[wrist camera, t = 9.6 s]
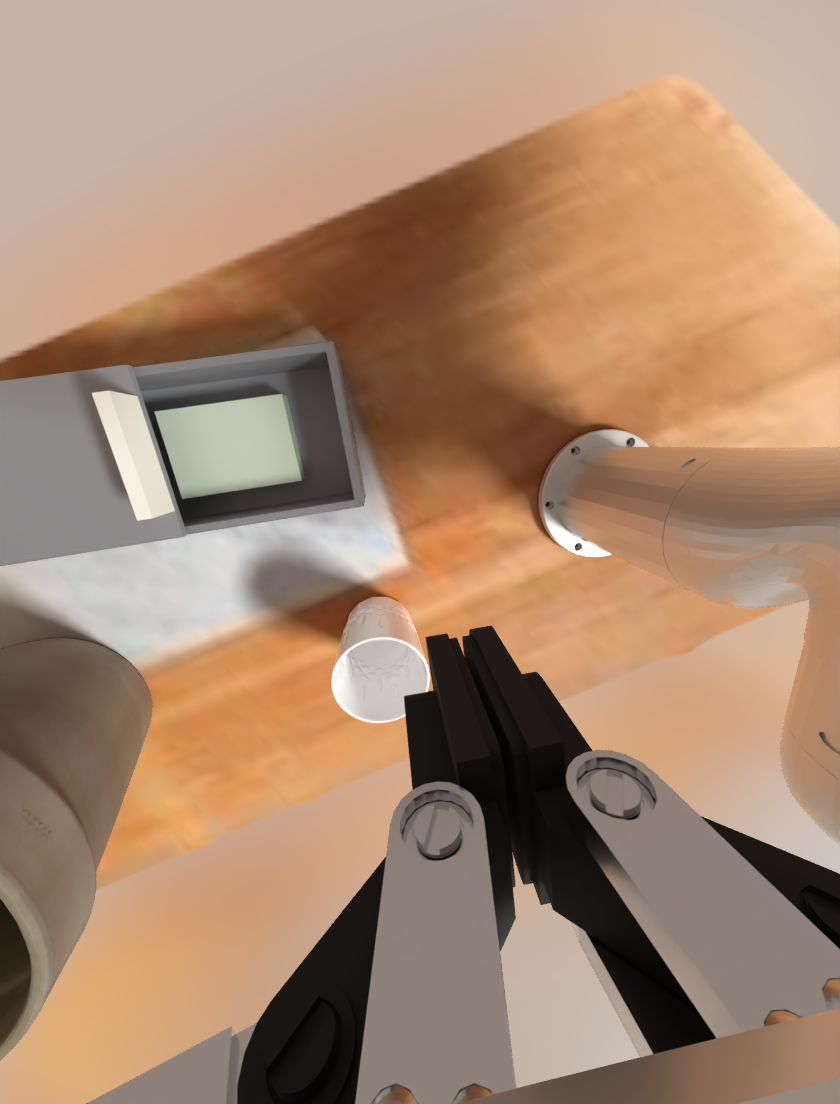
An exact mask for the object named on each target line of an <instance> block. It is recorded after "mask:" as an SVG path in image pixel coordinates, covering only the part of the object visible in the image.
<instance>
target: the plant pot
mask: <svg viewBox="0 0 840 1104" xmlns="http://www.w3.org/2000/svg"><path fill="white" fill-rule="evenodd" d="M151 716H152V700H151V695H150V691H149V689H148V686H147V684H146V682H145V680H144V679H143V677H142V676H141V675H140V673H139V672H138V671H137V670H136V669H135V668H134V667H133V666H132V665H131V664H130V663H129V662H128V661H127V660H125V659H124V658H123V657H121V656H120V655H118V654H117V653H115V652H114V651H112V650H110V649H108V648H106V647H103V646H101V645H98V644H95V643H92V642H88V641H84V640H79V639H71V638H50V639H43V640H37V641H31V642H27V643H22V644H18V645H13V646H9V647H5V648H1V649H0V1061H1V1060H2V1059H3V1058H4V1057H5V1056H6V1055H7V1054H8V1053H9V1052H10V1051H11V1050H12V1049H13V1048H14V1047H15V1046H16V1044H17V1043H18V1042H19V1041H20V1040H21V1038H22V1037H23V1036H24V1035H25V1033H26V1032H27V1031H28V1029H29V1028H30V1026H31V1025H32V1023H33V1021H34V1020H35V1019H36V1017H37V1015H38V1014H39V1012H40V1010H41V1008H42V1007H43V1005H44V1003H45V1001H46V999H47V997H48V995H49V993H50V992H51V989H52V988H53V986H54V984H55V982H56V980H57V978H58V977H59V974H60V973H61V971H62V969H63V967H64V965H65V964H66V962H67V960H68V958H69V956H70V955H71V953H72V951H73V949H74V947H75V945H76V943H77V942H78V940H79V938H80V936H81V935H82V933H83V931H84V929H85V927H86V924H87V922H88V920H89V917H90V914H91V910H92V907H93V903H94V899H95V892H96V871H97V868H98V865H99V863H100V860H101V858H102V855H103V853H104V850H105V848H106V845H107V842H108V840H109V837H110V834H111V832H112V829H113V826H114V823H115V821H116V818H117V815H118V813H119V810H120V807H121V804H122V802H123V799H124V796H125V793H126V791H127V788H128V785H129V782H130V780H131V777H132V774H133V771H134V769H135V766H136V763H137V760H138V758H139V755H140V752H141V749H142V746H143V743H144V740H145V737H146V734H147V731H148V728H149V725H150V721H151Z"/></svg>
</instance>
